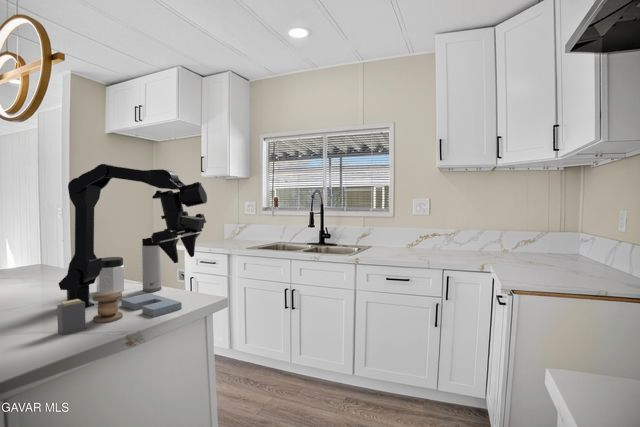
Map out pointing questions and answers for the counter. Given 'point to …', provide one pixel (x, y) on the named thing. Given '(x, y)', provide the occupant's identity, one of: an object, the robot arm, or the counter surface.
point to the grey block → (71, 316)
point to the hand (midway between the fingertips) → (184, 259)
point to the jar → (111, 275)
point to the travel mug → (151, 265)
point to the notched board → (151, 304)
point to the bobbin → (107, 307)
